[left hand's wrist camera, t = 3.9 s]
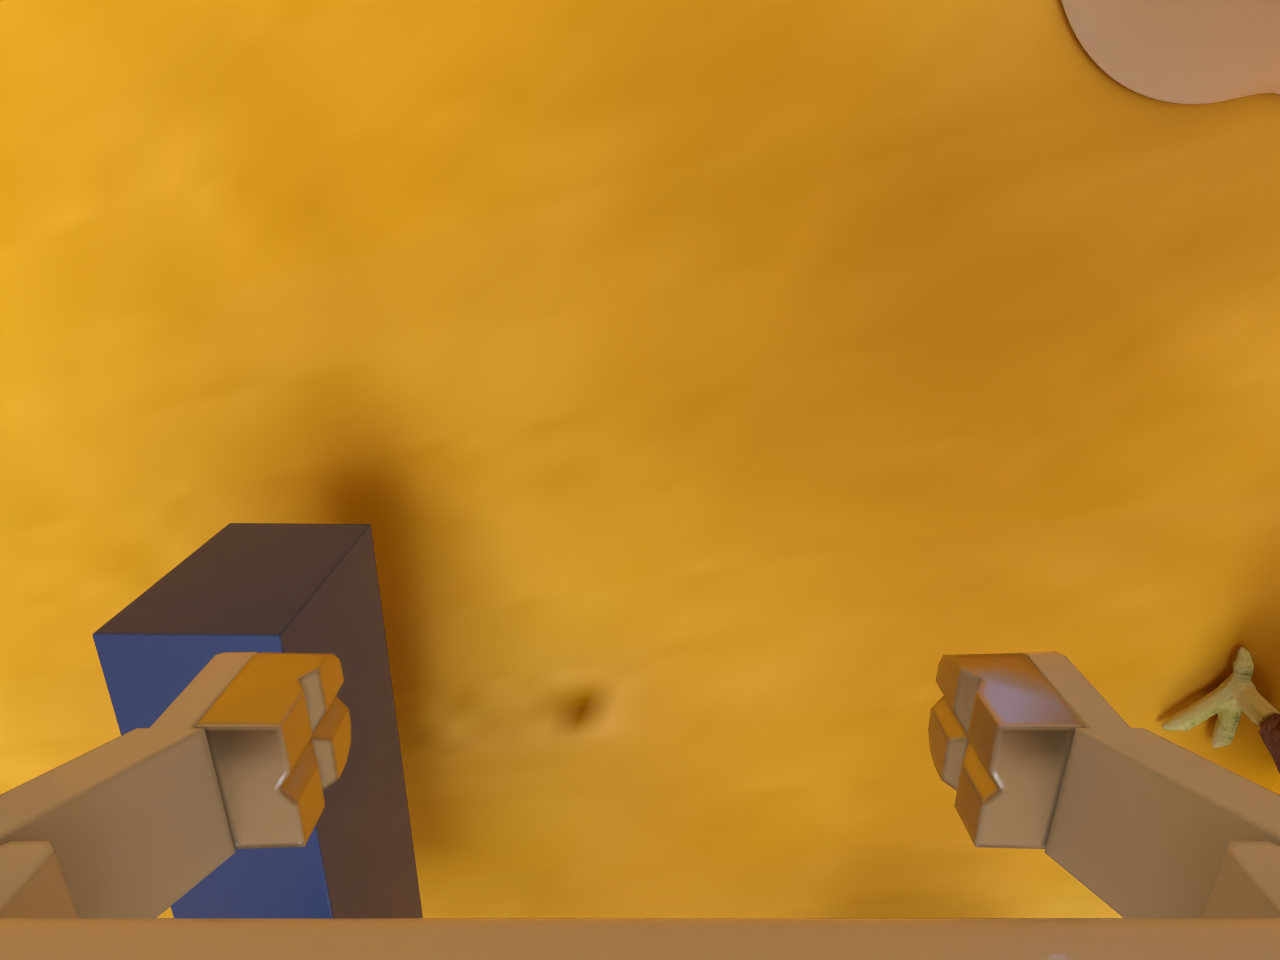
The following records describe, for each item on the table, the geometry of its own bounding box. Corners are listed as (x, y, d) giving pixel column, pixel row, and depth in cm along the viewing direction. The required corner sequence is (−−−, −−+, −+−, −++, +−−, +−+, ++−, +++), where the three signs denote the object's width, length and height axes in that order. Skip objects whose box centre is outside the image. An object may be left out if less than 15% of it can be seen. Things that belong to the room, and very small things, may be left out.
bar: (229, 522, 32) (90, 634, 24) (371, 523, 32) (279, 635, 24) (322, 979, 42) (245, 1168, 34) (431, 981, 42) (380, 1170, 34)
